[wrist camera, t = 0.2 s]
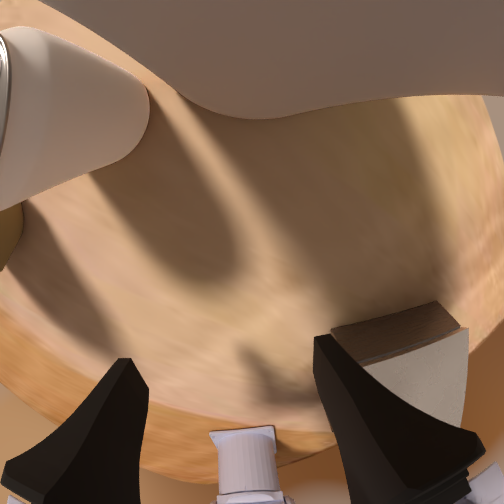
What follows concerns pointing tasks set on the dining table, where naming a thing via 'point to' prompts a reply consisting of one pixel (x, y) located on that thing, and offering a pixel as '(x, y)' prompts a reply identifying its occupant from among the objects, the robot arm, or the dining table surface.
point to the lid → (428, 375)
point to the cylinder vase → (304, 49)
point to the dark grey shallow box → (394, 332)
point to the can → (61, 112)
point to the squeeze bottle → (10, 231)
